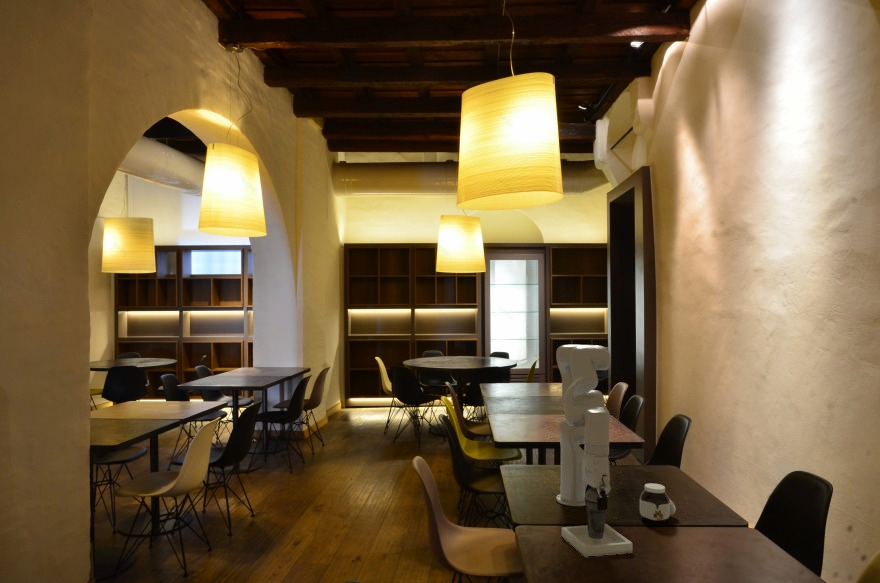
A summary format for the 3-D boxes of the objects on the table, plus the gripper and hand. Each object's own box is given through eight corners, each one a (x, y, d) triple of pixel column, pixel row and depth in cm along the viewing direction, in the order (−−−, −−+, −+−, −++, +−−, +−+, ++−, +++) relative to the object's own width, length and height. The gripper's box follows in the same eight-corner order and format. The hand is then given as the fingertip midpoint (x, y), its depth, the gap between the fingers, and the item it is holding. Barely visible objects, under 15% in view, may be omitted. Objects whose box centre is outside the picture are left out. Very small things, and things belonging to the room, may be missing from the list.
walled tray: (561, 536, 194) (561, 527, 194) (606, 532, 197) (606, 523, 197) (584, 557, 178) (584, 547, 178) (632, 553, 182) (632, 543, 182)
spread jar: (638, 521, 209) (639, 487, 209) (640, 510, 219) (640, 478, 219) (675, 526, 204) (676, 492, 204) (675, 515, 215) (676, 482, 215)
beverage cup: (608, 541, 184) (609, 476, 184) (584, 539, 185) (584, 475, 185) (606, 532, 191) (607, 470, 191) (583, 530, 192) (584, 468, 192)
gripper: (573, 442, 196) (572, 497, 196) (599, 456, 179) (598, 516, 179) (594, 441, 197) (593, 495, 197) (621, 455, 181) (621, 514, 180)
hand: (596, 504), depth 188 cm, fingers closed on beverage cup, 7 cm apart
